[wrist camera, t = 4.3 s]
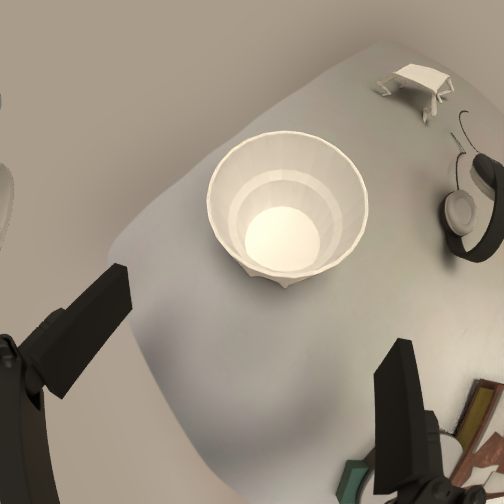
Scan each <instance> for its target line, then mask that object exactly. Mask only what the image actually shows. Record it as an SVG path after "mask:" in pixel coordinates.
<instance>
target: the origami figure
mask: <svg viewBox="0 0 504 504" xmlns="http://www.w3.org/2000/svg"><path fill="white" fill-rule="evenodd" d="M396 77H397V78H399V79H402V86H400V87H399V88H401V87H403V86H405V85H406V81H407V82H410V83H413V84H415V85H417V86H419V87H422V88H424V89H426V90H428V91H430V92H432V109H429V108H426V107H425V108H424V109H423V121H424V122H426V120H427V112H428V113H429V114H431V115H432V116H433V117H434V116H435V115H436V92H437V90H438V89H439V88H440V86H441V85H442V84H443V83H444V82H445V80H446V82H447V84H448V85H449V87H450V89H449V90H447V91H444V92H441V93H439V94H437V97H438V100H439V102H440V103H442V100H441V98H440V95H442V94H445V93H449V92H453V91H454V88H453V86H452V83H451V81H450V78H451V77H450V76H448V75H446V74H444V73H442V72H439V71H437V70H434V69H432V68H429V67H424V66H419V65H414V64H411V63H410V65H408V66H406V67H404V68H401V69H400V70H399V71H397V72H393V73H392V75H391V76H389V77H387V78H385V79H383V80H381V81H379V82H377V83H378V84H379V85H380V86H381V87H382V88H383V89H384V90H385V91H386V92H387V93H384V94H381V95H382V96H386V95H389V94H391V93H390V92H389V91H388V90H387V89H386V88H385V87H384V86H383V85H382V83H385V82H387V81H390V80H392V79H394V78H396Z"/></svg>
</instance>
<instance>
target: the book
mask: <svg viewBox="0 0 504 504" xmlns="http://www.w3.org/2000/svg"><path fill="white" fill-rule="evenodd" d="M455 438H456V439H457V440H458V441H459V443H460V445H461V446H462V449H463V454H462V456H461V458H460V460H459V462H458V464H457V466H456V468H455V470H454V472H453V473H452V475H451V477H450V478H449V480H450V481H451V483H452V485H454V486H457V487H461V488H465V489H469V488H470V487H472V486H475V485H481V486H482V487H483V488H484V489H485V491H486V495H487V498H486V500H488V499H493V498H498V497H503V496H504V384H501V383H497V382H492V381H488V380H484V379H480V380H479V383H478V386H477V388H476V391H475V393H474V396H473V398H472V401H471V403H470V405H469V408H468V410H467V412H466V414H465V417H464V419H463V421H462V423H461V425H460V427H459V429H458V431H457V433H456V435H455Z"/></svg>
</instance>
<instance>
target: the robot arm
mask: <svg viewBox="0 0 504 504" xmlns="http://www.w3.org/2000/svg"><path fill="white" fill-rule="evenodd" d="M0 108H1V95H0ZM131 310H132V302H131V295H130V287H129V279H128V271H127V267H126V266H123V265H120V264H117V263H114V264H113V265H112V266H111V267H110V268H109V269H108V270H107V271H105V272H104V273H103V274H102V275H101V276H100V277H99V278H98V279H97V280H96V281H95V282H94V283H93V284H92V285H91V286H90V287H89V288H87V289H86V290H85V291H84V292H83V293H82V294H81V295H80V296H79V297H78V298H77V299H76V300H75V301H74V302H73V303H72V304H71V305H70V306H69V307H68V308H67V309H66V310H65V309H62V308H59V309H58V310H56V311H54V312H52V313H51V314H50V315H49V316H48V317H47V318H46V319H45V320H44V322H42V323H41V324H40V325H39V327H37V328H36V329H35V330H34V331H33V332H32V333H31V334H30V335H29V336H28V337H27V338H26V340H25V341H23V343H22V344H21V345H20V346H19V347H18V348H17V346H16V344H15V342H14V340H13V339H12V337H11V336H9V335H8V334H1V335H0V502H1V504H60V501H59V497H58V494H57V489H56V485H55V480H54V476H53V470H52V465H51V459H50V453H49V446H48V439H47V430H46V420H45V408H44V392H43V389H42V387H43V386H44V385H46V386H47V388H48V389H49V391H50V392H51V393H53V394H54V395H56V396H57V397H59V398H60V399H63V397H64V396H65V395H66V393H67V392H68V391H69V389H70V388H71V386H72V385H73V384H74V382H75V381H76V380H77V378H78V377H79V376H80V374H81V373H82V372H83V370H84V369H85V368H86V367H87V365H88V364H89V363H90V361H91V360H92V359H93V357H94V356H95V355H96V354H97V352H98V351H99V350H100V348H101V347H102V346H103V345H104V343H105V342H106V341H107V339H108V338H109V337H110V336H111V334H112V333H113V332H114V331H115V329H116V328H117V327H118V326H119V325H120V323H121V322H122V321H123V320H124V318H125V317H126V316H127V315H128V314H129V312H130V311H131ZM374 392H375V470H374V488H373V495H390V494H392V493H394V492H396V491H397V497H395V498H393V499H391V500H388V501H387V502H385V503H384V504H389V503H390V504H485V503H486V498H487V495H486V491H485V489H484V488H483V487H482V486H481V485H475V486H472V487H470V488H469V489H465V488H461V487H457V486H454V485H452V483H451V481H450V480H449V479H448V478H447V477H445V476H444V471H443V460H442V449H441V442H440V434H439V424H438V420H437V418H436V416H435V414H434V412H433V411H429V410H424V405H423V398H422V392H421V386H420V380H419V374H418V369H417V364H416V359H415V354H414V350H413V345H412V341H411V340H406V339H401V338H397V340H396V342H395V343H394V345H393V346H392V348H391V349H390V351H389V352H388V354H387V355H386V357H385V358H384V360H383V361H382V363H381V364H380V366H379V367H378V369H377V370H376V371H375V373H374Z"/></svg>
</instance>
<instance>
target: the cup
mask: <svg viewBox="0 0 504 504" xmlns="http://www.w3.org/2000/svg"><path fill="white" fill-rule="evenodd" d="M206 200H207V209H208V218H209V221H210V224H211V226H212V228H213V231H214V233H215V235H216V238H217V239H218V240H219V241H220V243H221V244H222V245H223V246H224V248H225V249H226V250H227V251H228V252H229V254H230V255H231V256H232V257H233V258H234V259H235V260H236V261H237V262H238V263H239V264H240V265H241V266H242V267H243V268H244V269H245V271H246V272H247V273H248V274H249V275H250V277H256V276H262V277H265V278H267V279H270V280H273V281H276V282H278V283H279V284H280V285H281V286H282V287H283V288H284V289H286V288H287V287H288V285H289V284H292V283H296V282H299V281H302V280H305V279H307V278H309V277H312V276H314V275H316V274H318V273H321V272H323V271H325V270H327V269H329V268H331V267H333V266H335V265H337V264H338V263H340V262H341V261H342V260H343V259H344V258H345V257H346V256H347V255H348V254H349V253H350V252H352V251H353V250H354V248H355V247H356V245H357V243H358V241H359V240H360V238H361V236H362V235H363V233H364V230H365V226H366V222H367V218H368V213H369V212H368V194H367V191H366V188H365V185H364V182H363V179H362V176H361V175H360V173H359V172H358V170H357V169H356V167H355V166H354V164H353V163H352V161H351V160H350V159H349V158H348V157H347V156H346V155H345V154H343V153H342V152H341V151H340V150H339V149H338V148H337V147H335V146H333V145H332V144H330V143H328V142H326V141H325V140H323V139H321V138H319V137H315V136H312V135H309V134H306V133H302V132H292V131H277V132H270V133H263V134H261V135H258V136H255V137H253V138H250V139H247V140H245V141H244V142H242V143H241V144H239V145H238V146H236V147H235V148H233V149H232V150H230V152H229V153H228V154H227V155H226V156H225V157H224V158H223V159H222V160H221V162H220V163H219V164H218V166H217V168H216V170H215V172H214V174H213V176H212V178H211V180H210V183H209V188H208V194H207V199H206Z"/></svg>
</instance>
